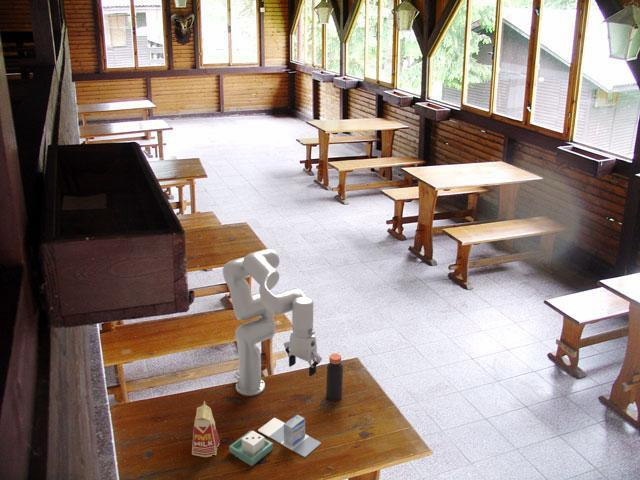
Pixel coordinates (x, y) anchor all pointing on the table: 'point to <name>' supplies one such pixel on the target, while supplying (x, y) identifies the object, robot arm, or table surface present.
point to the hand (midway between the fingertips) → (302, 369)
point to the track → (276, 432)
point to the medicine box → (294, 430)
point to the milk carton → (204, 433)
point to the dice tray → (237, 451)
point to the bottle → (334, 378)
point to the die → (252, 443)
